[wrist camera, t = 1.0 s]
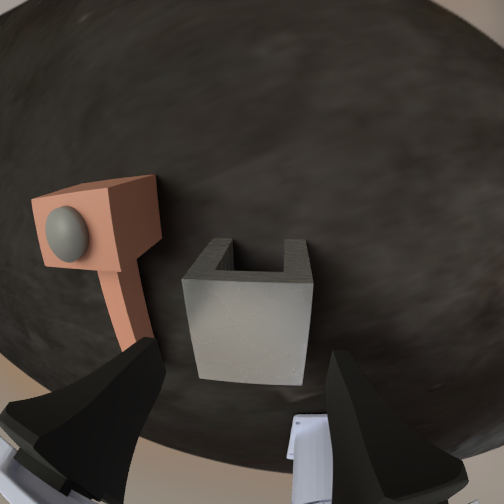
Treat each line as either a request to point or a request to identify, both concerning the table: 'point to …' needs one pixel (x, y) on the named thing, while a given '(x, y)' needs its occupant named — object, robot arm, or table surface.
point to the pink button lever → (105, 241)
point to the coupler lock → (249, 316)
